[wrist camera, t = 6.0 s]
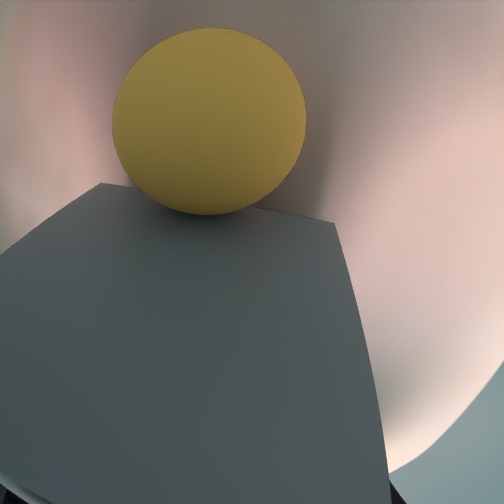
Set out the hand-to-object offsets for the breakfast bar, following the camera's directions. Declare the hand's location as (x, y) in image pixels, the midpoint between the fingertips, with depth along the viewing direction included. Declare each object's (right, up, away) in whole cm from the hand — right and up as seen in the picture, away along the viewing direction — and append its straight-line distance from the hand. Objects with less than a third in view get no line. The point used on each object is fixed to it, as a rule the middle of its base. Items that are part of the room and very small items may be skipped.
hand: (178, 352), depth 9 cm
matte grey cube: (0, +1, +3) cm, 3 cm away
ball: (+1, +6, -1) cm, 7 cm away
